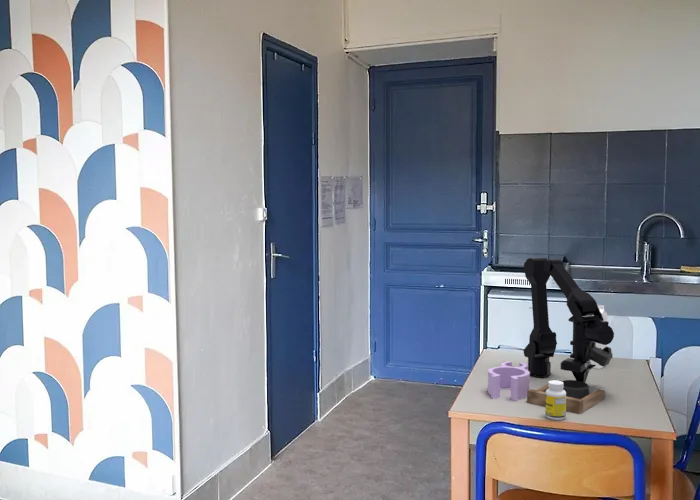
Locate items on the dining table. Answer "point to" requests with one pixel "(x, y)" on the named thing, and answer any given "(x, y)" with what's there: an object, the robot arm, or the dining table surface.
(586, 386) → the smart speaker
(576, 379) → the robot arm
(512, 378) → the clip
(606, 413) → the dining table surface
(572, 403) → the wooden tray
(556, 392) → the supplement bottle
